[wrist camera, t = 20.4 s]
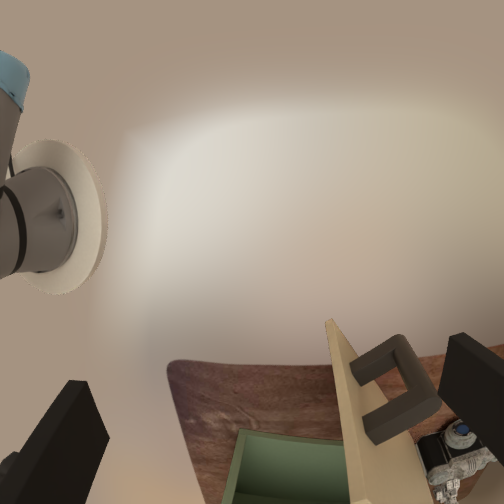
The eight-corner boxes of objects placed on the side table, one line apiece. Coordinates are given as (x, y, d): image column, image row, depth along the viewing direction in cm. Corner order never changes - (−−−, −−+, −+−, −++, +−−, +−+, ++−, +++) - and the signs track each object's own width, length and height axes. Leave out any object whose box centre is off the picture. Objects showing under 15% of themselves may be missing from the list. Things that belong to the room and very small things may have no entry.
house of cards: (423, 479, 41) (432, 508, 34) (462, 467, 40) (474, 494, 33) (413, 501, 43) (420, 528, 36) (450, 491, 42) (459, 516, 35)
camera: (496, 401, 36) (522, 438, 26) (486, 429, 37) (507, 466, 28) (419, 423, 38) (437, 470, 29) (412, 451, 40) (426, 495, 30)
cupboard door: (375, 289, 34) (467, 446, 11) (445, 417, 37) (497, 538, 14) (324, 322, 36) (349, 504, 13) (406, 440, 39) (441, 567, 16)
